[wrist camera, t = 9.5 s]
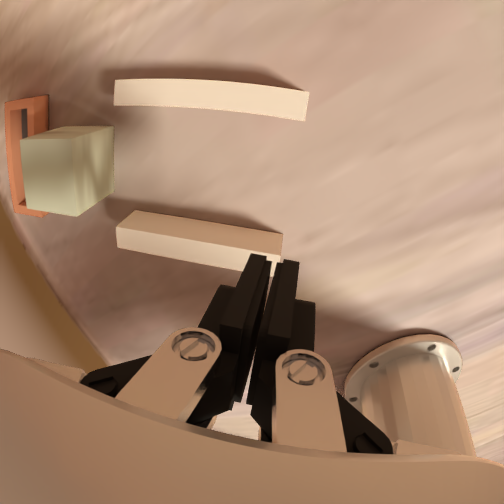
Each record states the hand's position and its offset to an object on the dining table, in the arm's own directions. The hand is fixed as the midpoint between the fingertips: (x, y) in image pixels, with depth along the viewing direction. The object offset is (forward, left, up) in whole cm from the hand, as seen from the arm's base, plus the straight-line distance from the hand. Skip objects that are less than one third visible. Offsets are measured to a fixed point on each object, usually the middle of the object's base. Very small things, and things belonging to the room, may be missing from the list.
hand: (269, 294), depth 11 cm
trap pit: (+1, +21, -11) cm, 24 cm away
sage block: (+1, +15, -11) cm, 18 cm away
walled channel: (+1, +5, -11) cm, 12 cm away
